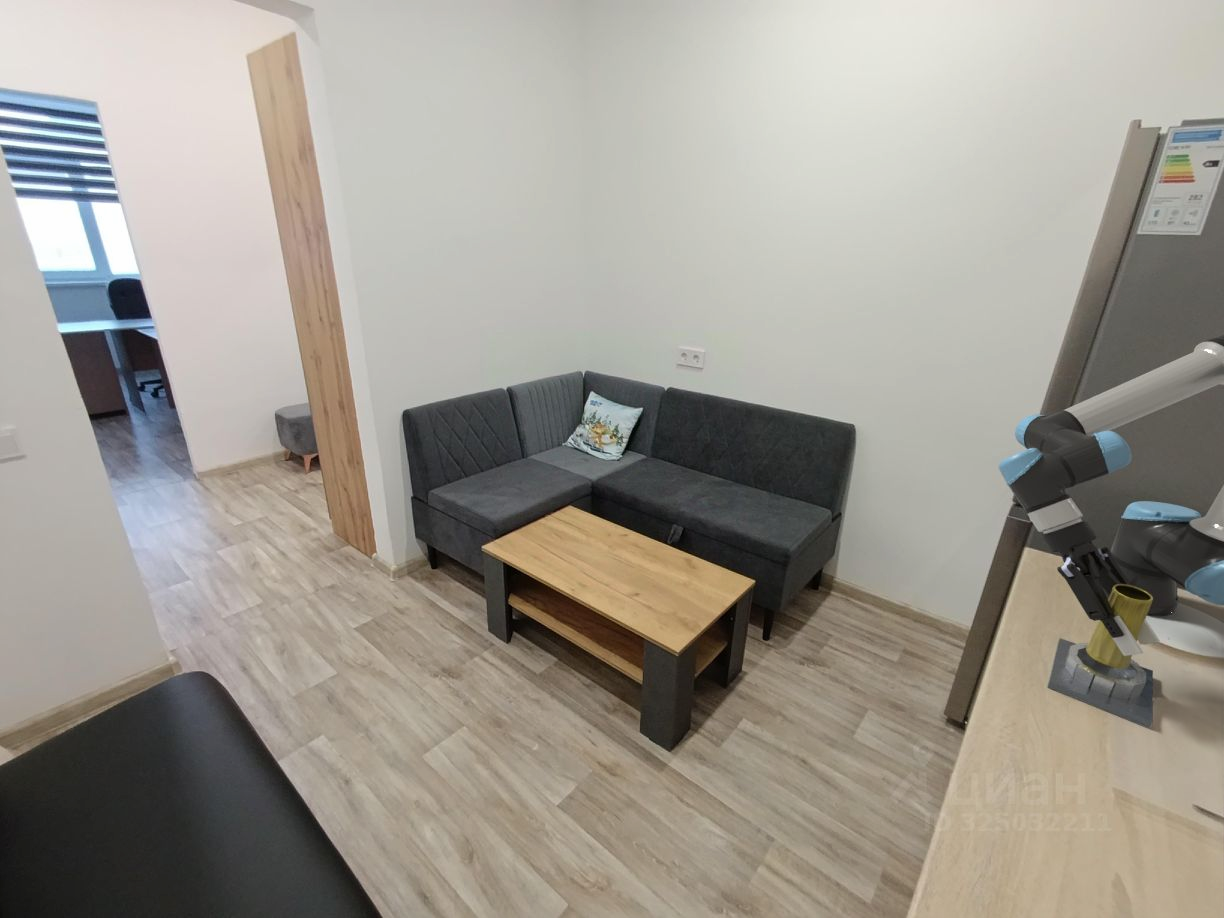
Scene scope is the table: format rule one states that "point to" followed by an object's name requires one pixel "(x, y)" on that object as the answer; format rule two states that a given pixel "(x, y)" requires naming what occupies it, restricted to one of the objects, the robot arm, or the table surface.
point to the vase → (1132, 611)
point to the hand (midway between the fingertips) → (1141, 648)
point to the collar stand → (1103, 683)
